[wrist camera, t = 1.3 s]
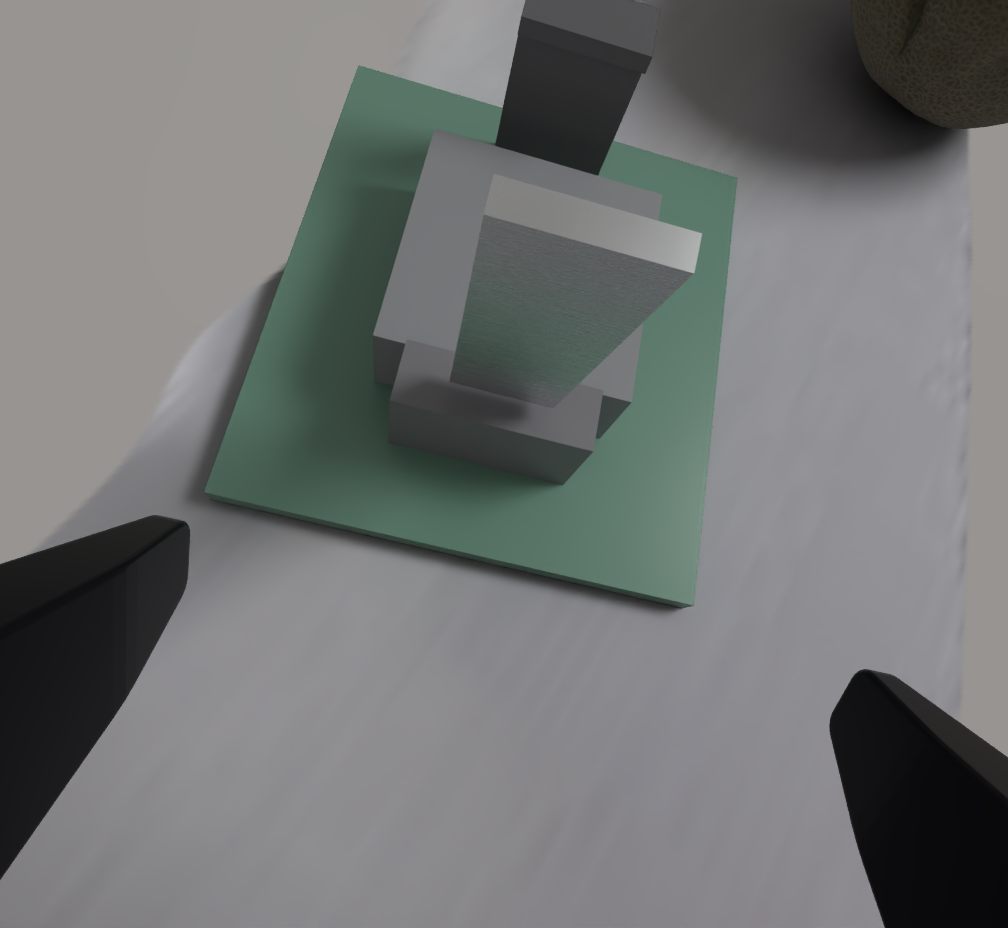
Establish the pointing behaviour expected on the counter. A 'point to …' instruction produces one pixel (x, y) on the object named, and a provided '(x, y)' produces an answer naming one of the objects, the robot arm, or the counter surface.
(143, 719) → the counter surface
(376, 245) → the board
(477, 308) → the light gray flat bar
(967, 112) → the cantaloupe
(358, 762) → the counter surface
